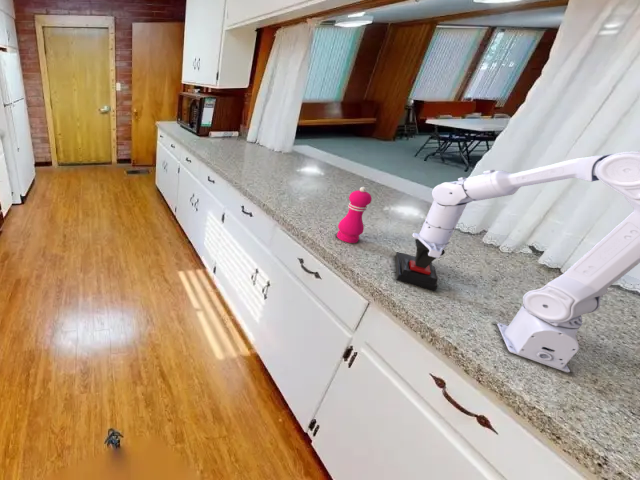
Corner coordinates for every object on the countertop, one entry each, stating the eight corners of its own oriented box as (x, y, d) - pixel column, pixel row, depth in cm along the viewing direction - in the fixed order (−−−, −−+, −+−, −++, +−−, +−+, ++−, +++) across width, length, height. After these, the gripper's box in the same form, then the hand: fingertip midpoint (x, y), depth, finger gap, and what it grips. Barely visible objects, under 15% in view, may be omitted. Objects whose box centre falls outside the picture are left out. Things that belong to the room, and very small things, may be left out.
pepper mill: (333, 238, 105) (348, 187, 97) (337, 231, 110) (352, 181, 102) (357, 246, 100) (376, 193, 92) (361, 237, 105) (378, 186, 97)
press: (434, 291, 80) (440, 280, 78) (396, 280, 85) (401, 268, 83) (428, 266, 90) (434, 255, 88) (394, 256, 95) (399, 246, 93)
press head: (427, 278, 81) (430, 272, 80) (408, 272, 83) (411, 266, 83) (426, 270, 84) (429, 265, 83) (407, 265, 86) (410, 259, 85)
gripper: (416, 210, 85) (400, 249, 90) (421, 231, 75) (402, 273, 80) (451, 216, 81) (431, 257, 86) (461, 240, 71) (438, 284, 76)
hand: (420, 265), depth 83 cm, fingers closed, pressing on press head
